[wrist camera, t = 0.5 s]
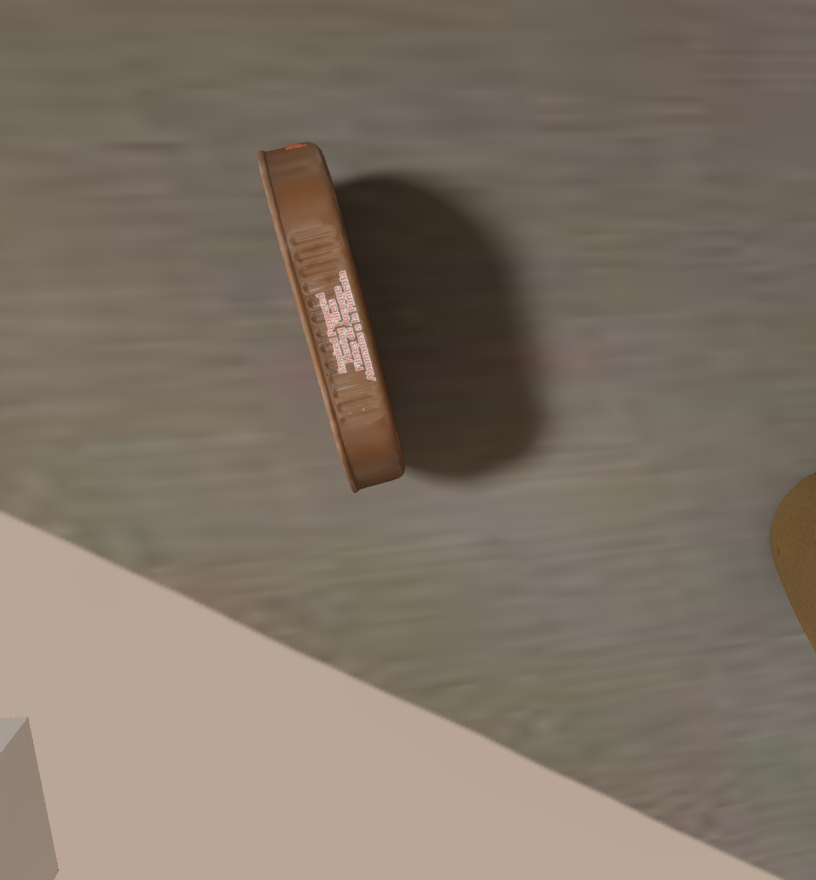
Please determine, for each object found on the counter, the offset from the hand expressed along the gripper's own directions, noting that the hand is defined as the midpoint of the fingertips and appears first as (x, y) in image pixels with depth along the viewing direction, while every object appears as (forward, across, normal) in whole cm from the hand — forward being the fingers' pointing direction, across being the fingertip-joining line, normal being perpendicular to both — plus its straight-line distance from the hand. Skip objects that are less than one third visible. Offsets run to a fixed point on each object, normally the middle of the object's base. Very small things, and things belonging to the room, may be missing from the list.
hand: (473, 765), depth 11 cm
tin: (+27, -3, +5) cm, 28 cm away
